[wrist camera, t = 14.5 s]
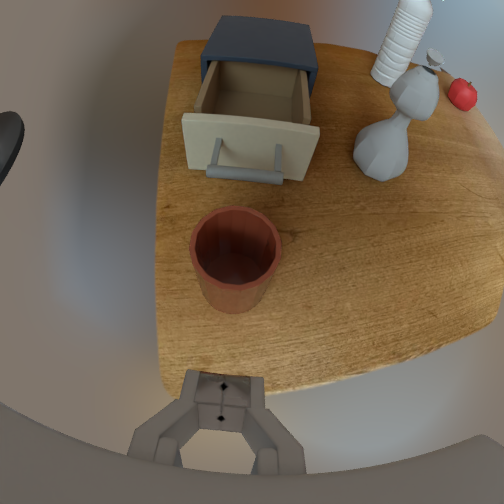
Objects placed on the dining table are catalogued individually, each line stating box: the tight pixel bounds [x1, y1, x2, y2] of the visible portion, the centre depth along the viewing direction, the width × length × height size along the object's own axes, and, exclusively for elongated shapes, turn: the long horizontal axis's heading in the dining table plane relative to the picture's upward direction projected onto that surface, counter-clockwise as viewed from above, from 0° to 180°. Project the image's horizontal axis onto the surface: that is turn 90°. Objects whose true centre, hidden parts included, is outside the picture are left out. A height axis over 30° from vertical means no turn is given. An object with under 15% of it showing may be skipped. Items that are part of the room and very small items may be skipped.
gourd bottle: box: [353, 48, 445, 182], centre depth 27 cm, size 8×8×20 cm
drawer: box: [181, 60, 320, 185], centre depth 31 cm, size 20×13×8 cm, turn 175°
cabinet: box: [201, 16, 318, 100], centre depth 37 cm, size 17×15×10 cm
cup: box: [189, 205, 282, 314], centre depth 24 cm, size 6×6×9 cm
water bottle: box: [371, 0, 445, 88], centre depth 35 cm, size 9×6×25 cm
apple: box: [448, 78, 477, 111], centre depth 45 cm, size 8×8×8 cm
